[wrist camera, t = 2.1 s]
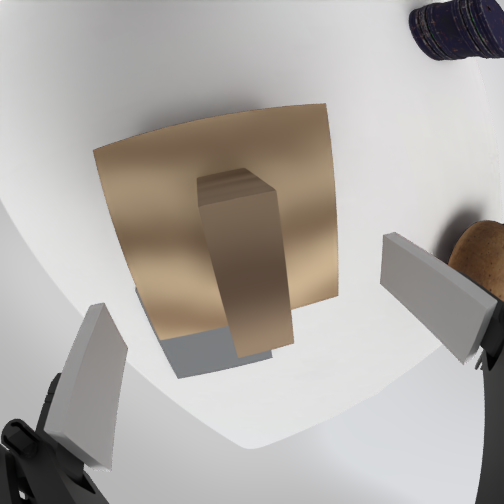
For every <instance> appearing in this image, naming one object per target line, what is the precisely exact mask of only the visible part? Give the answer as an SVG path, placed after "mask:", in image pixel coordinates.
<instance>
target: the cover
mask: <svg viewBox="0 0 504 504" xmlns="http://www.w3.org/2000/svg"><path fill="white" fill-rule="evenodd" d="M93 153H94V157H95V161H96V165H97V170H98V173H99V177H100V181H101V185H102V189H103V192H104V196H105V199H106V203H107V206H108V209H109V213H110V216H111V219H112V222H113V225H114V228H115V231H116V234H117V237H118V240H119V243H120V246H121V249H122V251H123V254H124V257H125V260H126V262H127V265H128V268H129V270H130V273H131V275H132V278H133V280H134V283H135V285H136V288H137V290H138V293H139V295H140V297H141V300H142V302H143V304H144V307H145V309H146V311H147V314H148V316H149V318H150V320H151V322H152V325H153V327H154V329H155V331H156V333H157V335H158V337H159V339H160V340H165V339H170V338H175V337H180V336H185V335H190V334H194V333H199V332H204V331H208V330H213V329H217V328H221V327H226V326H229V329H230V332H231V336H232V339H233V343H234V346H235V349H236V353H237V356H238V358H241V357H245V356H249V355H253V354H257V353H261V352H265V351H268V350H272V349H276V348H279V347H283V346H286V345H290V344H293V343H294V336H293V326H292V316H291V310H292V309H295V308H299V307H302V306H306V305H309V304H313V303H316V302H319V301H323V300H326V299H329V298H333V297H336V296H338V232H337V210H336V194H335V180H334V168H333V158H332V148H331V139H330V131H329V123H328V115H327V108H326V103H325V104H307V105H294V106H283V107H274V108H265V109H258V110H250V111H244V112H237V113H231V114H225V115H220V116H214V117H209V118H204V119H199V120H195V121H190V122H186V123H181V124H177V125H173V126H169V127H165V128H161V129H158V130H154V131H150V132H147V133H143V134H140V135H136V136H133V137H130V138H127V139H124V140H120V141H117V142H114V143H111V144H109V145H106V146H103V147H100V148H97V149H95V150H93Z"/></svg>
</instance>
